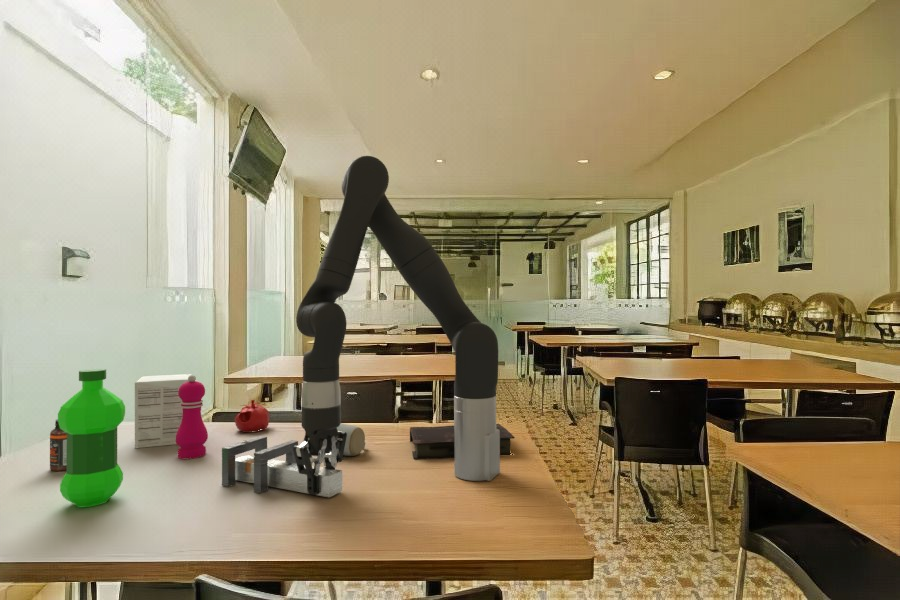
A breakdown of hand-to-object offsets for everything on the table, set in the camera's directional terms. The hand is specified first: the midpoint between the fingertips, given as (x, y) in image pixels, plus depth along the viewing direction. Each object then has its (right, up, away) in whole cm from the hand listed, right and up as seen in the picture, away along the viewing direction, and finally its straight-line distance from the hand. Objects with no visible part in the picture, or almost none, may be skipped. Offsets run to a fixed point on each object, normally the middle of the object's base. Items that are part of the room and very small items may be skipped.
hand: (321, 489), depth 101 cm
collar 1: (-19, -1, +9) cm, 21 cm away
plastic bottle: (-43, -1, -4) cm, 43 cm away
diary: (+28, -2, +32) cm, 42 cm away
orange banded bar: (-9, 0, +4) cm, 10 cm away
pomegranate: (-34, -2, +53) cm, 63 cm away
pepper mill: (-39, -2, +27) cm, 47 cm away
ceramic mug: (-1, -1, +28) cm, 28 cm away
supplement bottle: (-64, -2, +17) cm, 66 cm away
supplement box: (-54, -2, +42) cm, 68 cm away
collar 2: (-11, -1, +5) cm, 12 cm away
